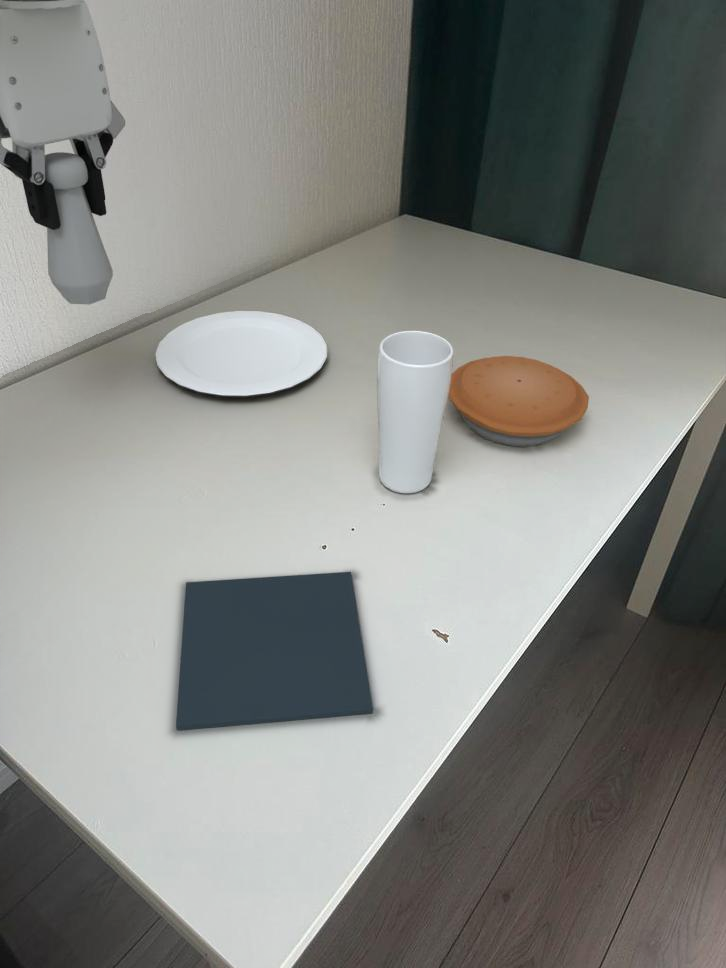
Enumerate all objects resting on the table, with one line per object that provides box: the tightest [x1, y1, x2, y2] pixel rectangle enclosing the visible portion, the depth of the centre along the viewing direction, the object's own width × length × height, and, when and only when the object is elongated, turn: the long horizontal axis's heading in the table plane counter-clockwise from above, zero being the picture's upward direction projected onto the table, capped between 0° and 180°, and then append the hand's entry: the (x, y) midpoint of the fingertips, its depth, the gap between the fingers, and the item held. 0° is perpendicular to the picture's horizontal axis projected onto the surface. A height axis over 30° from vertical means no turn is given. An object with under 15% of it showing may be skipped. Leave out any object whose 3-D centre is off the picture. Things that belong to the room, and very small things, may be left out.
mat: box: [175, 571, 374, 731], centre depth 61 cm, size 14×14×1 cm
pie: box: [448, 355, 590, 448], centre depth 86 cm, size 15×16×5 cm
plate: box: [155, 310, 328, 398], centre depth 95 cm, size 21×21×2 cm
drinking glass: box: [376, 330, 454, 494], centre depth 73 cm, size 7×7×15 cm
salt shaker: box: [45, 151, 114, 306], centre depth 71 cm, size 6×6×13 cm
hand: (70, 216), depth 70 cm, fingers closed on salt shaker, 4 cm apart
